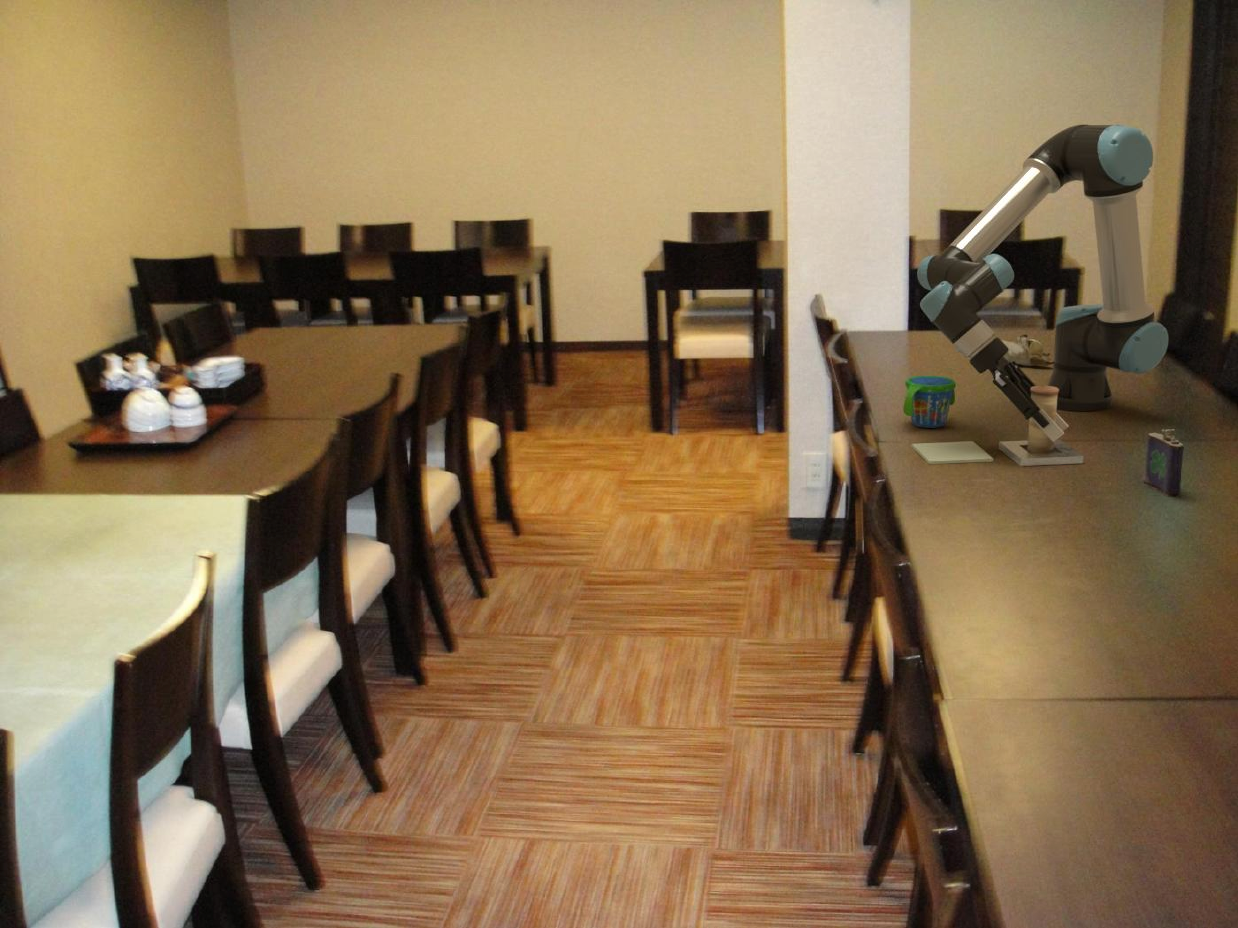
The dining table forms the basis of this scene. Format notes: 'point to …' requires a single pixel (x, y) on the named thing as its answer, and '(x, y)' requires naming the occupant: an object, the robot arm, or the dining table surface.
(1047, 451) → the plug
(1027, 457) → the socket
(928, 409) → the snack cup
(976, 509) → the dining table surface
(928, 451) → the mat
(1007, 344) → the ceramic sculpture
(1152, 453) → the flask
